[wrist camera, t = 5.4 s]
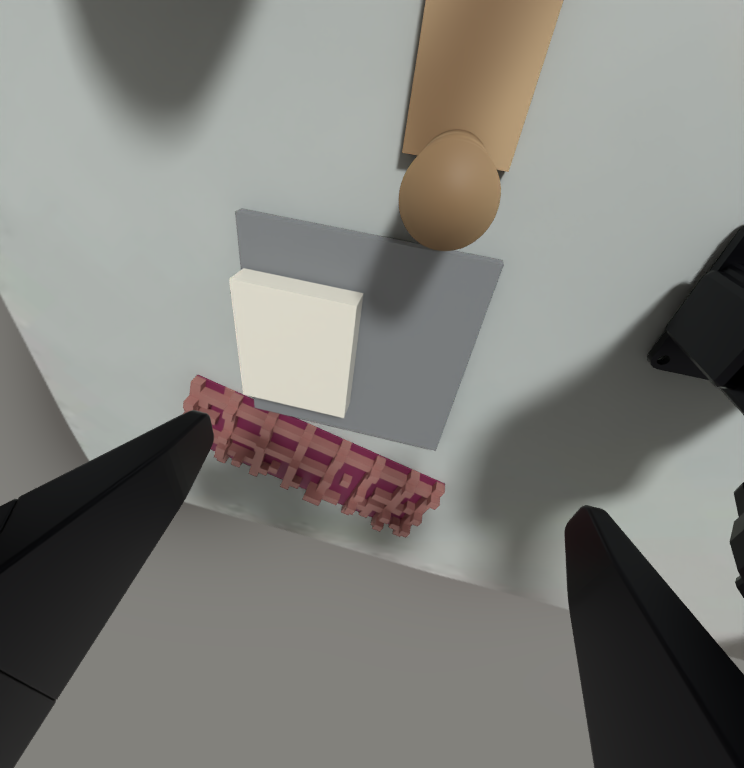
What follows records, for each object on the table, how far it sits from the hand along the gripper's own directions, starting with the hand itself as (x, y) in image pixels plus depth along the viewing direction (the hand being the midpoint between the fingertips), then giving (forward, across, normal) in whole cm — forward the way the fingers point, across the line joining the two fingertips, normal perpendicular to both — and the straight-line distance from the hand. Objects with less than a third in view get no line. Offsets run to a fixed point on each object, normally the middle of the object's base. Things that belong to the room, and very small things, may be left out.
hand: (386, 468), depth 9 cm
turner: (+11, 0, -7) cm, 13 cm away
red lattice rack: (+12, +6, +15) cm, 20 cm away
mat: (+11, +3, +4) cm, 12 cm away
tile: (+10, +3, +4) cm, 11 cm away
